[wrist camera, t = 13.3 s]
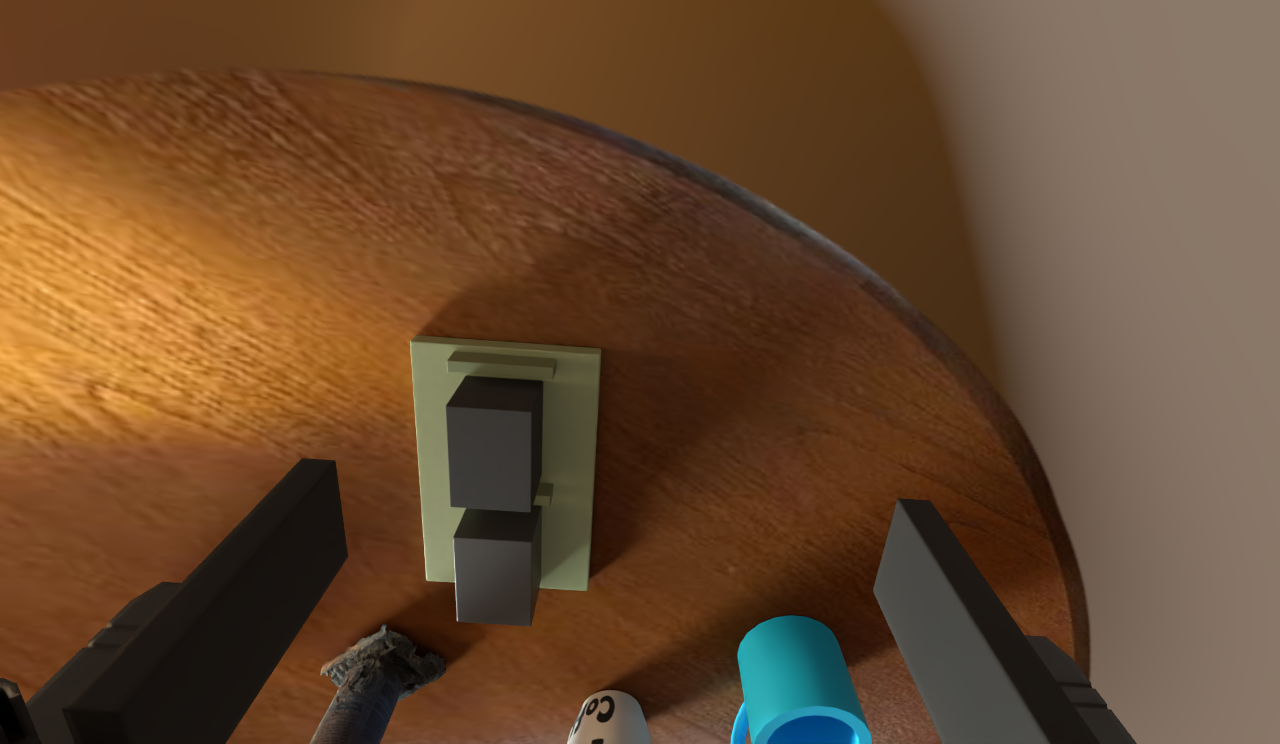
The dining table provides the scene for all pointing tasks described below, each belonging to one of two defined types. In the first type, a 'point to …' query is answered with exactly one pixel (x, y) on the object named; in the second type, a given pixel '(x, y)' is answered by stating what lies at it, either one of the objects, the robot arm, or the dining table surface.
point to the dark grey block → (495, 443)
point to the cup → (610, 720)
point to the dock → (563, 507)
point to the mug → (796, 687)
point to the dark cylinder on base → (372, 686)
